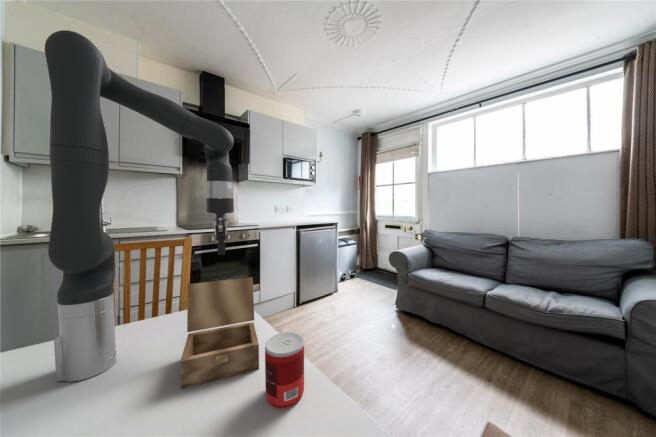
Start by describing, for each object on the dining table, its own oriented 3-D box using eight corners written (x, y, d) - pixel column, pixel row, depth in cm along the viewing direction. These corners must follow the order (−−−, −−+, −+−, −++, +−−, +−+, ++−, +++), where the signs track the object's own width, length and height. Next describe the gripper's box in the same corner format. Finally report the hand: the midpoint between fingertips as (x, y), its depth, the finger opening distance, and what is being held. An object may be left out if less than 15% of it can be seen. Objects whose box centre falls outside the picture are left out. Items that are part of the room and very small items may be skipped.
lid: (187, 284, 64) (188, 284, 65) (187, 332, 61) (187, 331, 62) (252, 277, 70) (252, 277, 71) (254, 320, 68) (254, 319, 69)
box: (180, 389, 50) (180, 362, 50) (189, 356, 62) (188, 333, 61) (259, 369, 57) (258, 344, 56) (253, 342, 68) (253, 321, 68)
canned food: (310, 384, 52) (309, 335, 51) (292, 415, 44) (292, 357, 44) (279, 376, 54) (278, 329, 54) (257, 404, 47) (257, 349, 46)
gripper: (207, 197, 77) (209, 251, 77) (204, 196, 64) (206, 259, 65) (233, 198, 79) (234, 249, 80) (234, 196, 67) (235, 257, 68)
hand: (221, 254), depth 73 cm, fingers closed
